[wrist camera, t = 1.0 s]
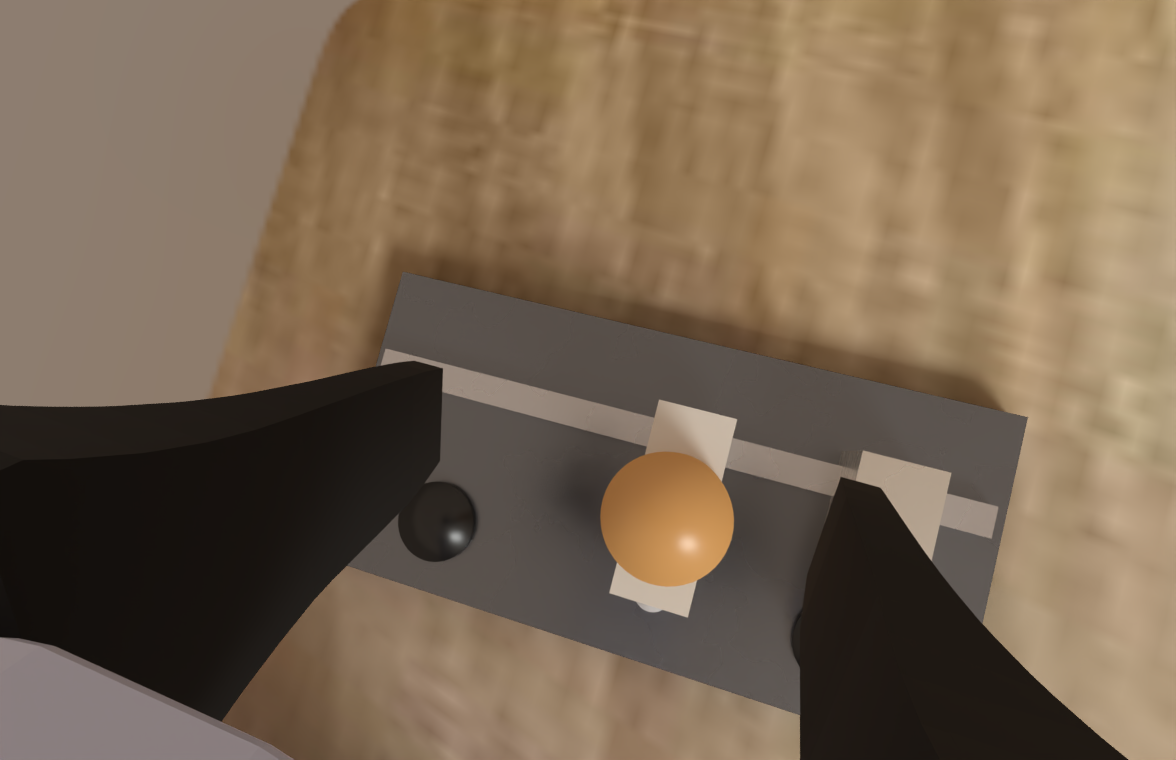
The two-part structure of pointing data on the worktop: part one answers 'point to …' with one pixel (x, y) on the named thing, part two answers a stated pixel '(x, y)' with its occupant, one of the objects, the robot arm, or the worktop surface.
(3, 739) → the robot arm
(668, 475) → the block with orange knob
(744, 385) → the hole plate
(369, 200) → the worktop surface
